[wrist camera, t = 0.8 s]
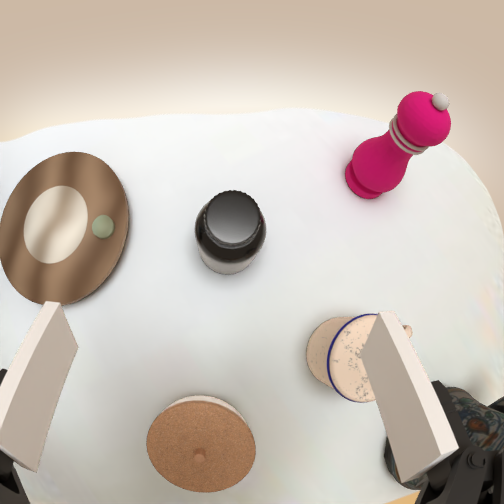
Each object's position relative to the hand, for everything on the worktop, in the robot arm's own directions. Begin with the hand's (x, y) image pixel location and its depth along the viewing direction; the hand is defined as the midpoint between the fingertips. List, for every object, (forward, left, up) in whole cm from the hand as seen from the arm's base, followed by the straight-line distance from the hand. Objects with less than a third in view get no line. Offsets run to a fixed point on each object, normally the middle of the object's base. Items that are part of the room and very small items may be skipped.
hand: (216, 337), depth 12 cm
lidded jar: (-1, -13, -24) cm, 27 cm away
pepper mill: (+18, +21, -24) cm, 37 cm away
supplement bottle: (0, +9, -24) cm, 26 cm away
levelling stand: (-22, +9, -24) cm, 34 cm away
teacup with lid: (+16, -2, -24) cm, 29 cm away
